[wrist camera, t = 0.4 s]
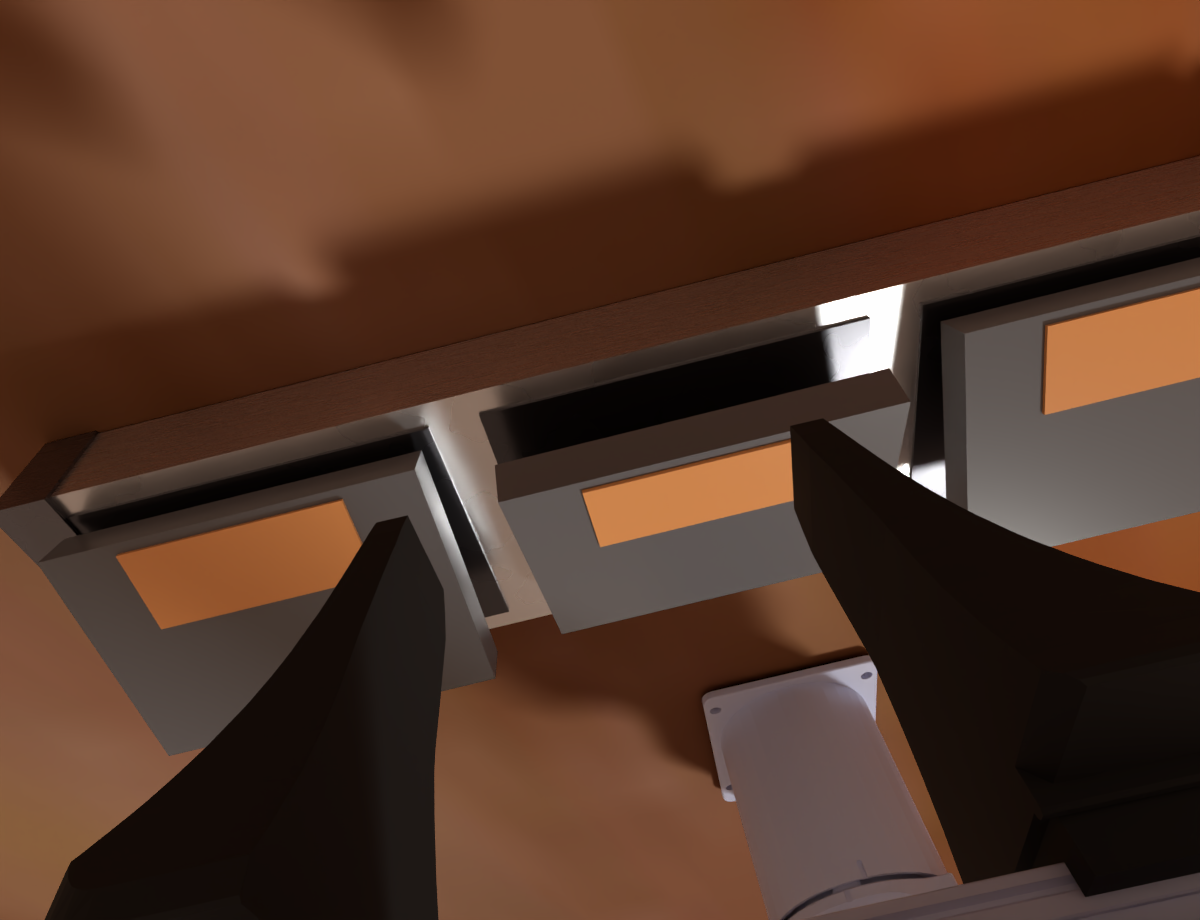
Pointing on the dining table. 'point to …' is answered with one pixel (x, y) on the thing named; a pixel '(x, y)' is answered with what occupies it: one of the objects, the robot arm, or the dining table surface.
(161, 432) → the grey switch panel
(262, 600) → the panel
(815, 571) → the rocker
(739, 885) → the dining table surface
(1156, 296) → the grey rectangular frame
